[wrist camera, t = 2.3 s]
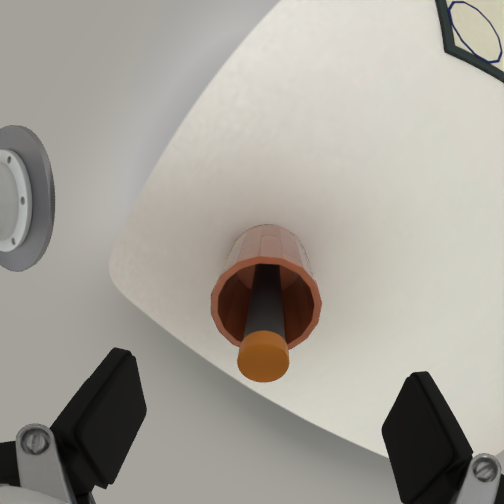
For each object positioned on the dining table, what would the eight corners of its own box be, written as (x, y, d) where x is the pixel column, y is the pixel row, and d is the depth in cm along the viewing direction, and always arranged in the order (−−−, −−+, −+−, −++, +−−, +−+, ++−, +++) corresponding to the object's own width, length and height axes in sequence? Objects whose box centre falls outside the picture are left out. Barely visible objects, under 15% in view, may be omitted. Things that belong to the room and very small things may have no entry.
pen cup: (229, 291, 24) (210, 348, 16) (232, 221, 22) (211, 251, 14) (299, 297, 23) (311, 356, 16) (309, 227, 22) (329, 261, 14)
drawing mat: (444, 52, 16) (448, 49, 15) (417, -57, 11) (419, -60, 10) (545, 111, 15) (549, 111, 15) (520, 3, 10) (523, 2, 10)
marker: (253, 274, 22) (236, 380, 11) (255, 249, 22) (238, 341, 10) (279, 276, 22) (285, 384, 11) (282, 252, 22) (292, 345, 10)
